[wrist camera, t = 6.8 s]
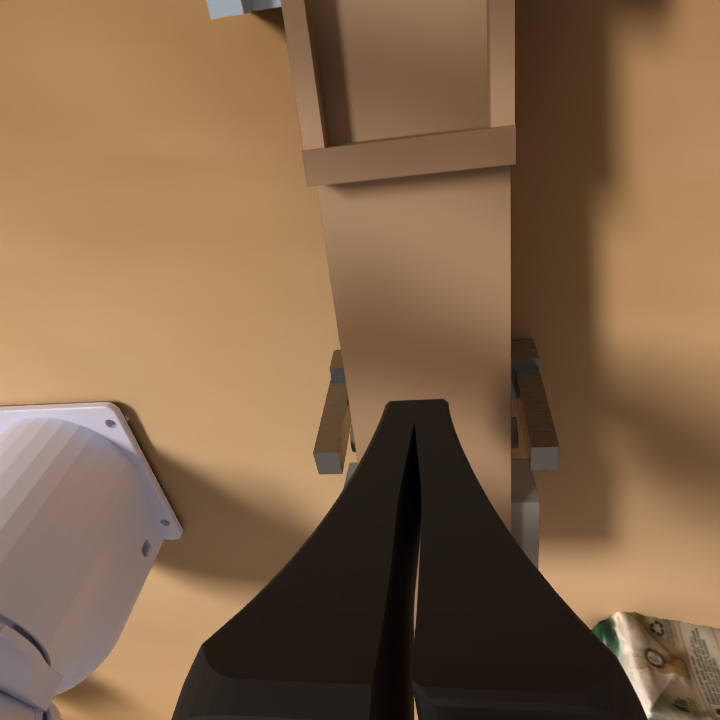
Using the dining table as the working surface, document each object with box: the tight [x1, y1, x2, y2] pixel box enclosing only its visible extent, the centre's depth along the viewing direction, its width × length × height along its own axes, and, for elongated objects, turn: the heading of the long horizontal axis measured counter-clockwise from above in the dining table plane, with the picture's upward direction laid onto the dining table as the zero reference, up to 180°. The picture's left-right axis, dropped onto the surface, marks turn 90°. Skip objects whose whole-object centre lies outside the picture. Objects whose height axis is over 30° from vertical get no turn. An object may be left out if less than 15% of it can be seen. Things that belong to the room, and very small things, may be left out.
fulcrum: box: [313, 339, 559, 474], centre depth 19 cm, size 2×8×5 cm, turn 98°
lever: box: [281, 0, 540, 629], centre depth 17 cm, size 22×7×4 cm, turn 8°
